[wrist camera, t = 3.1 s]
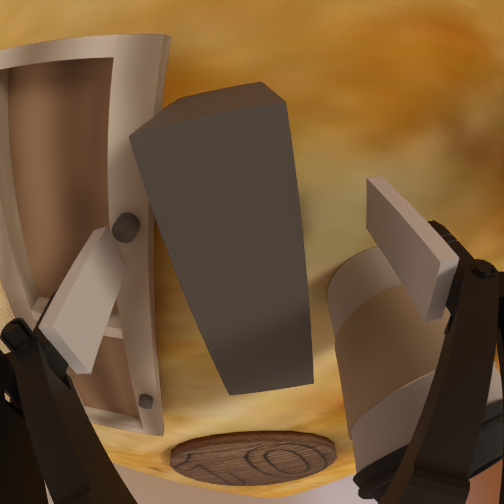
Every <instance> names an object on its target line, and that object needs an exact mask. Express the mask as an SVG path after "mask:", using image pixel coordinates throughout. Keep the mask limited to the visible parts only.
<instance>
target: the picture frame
mask: <svg viewBox="0 0 504 504" xmlns="http://www.w3.org/2000/svg"><path fill="white" fill-rule="evenodd" d="M129 140H130V143H131V146H132V150H133V153H134V156H135V159H136V162H137V166H138V169H139V172H140V175H141V178H142V181H143V184H144V187H145V190H146V193H147V196H148V199H149V202H150V205H151V208H152V210H153V213H154V216H155V219H156V222H157V224H158V227H159V230H160V233H161V235H162V238H163V241H164V244H165V246H166V249H167V252H168V254H169V257H170V259H171V262H172V265H173V267H174V270H175V272H176V275H177V277H178V280H179V282H180V285H181V287H182V290H183V292H184V295H185V297H186V299H187V302H188V304H189V307H190V309H191V311H192V314H193V316H194V319H195V321H196V323H197V326H198V328H199V330H200V332H201V335H202V337H203V339H204V342H205V344H206V346H207V348H208V350H209V353H210V355H211V357H212V359H213V361H214V364H215V366H216V368H217V370H218V372H219V374H220V376H221V379H222V381H223V383H224V385H225V387H226V389H227V391H228V393H229V395H238V394H247V393H255V392H263V391H270V390H277V389H283V388H290V387H296V386H302V385H307V384H313V383H314V377H313V357H312V340H311V324H310V310H309V297H308V285H307V273H306V262H305V251H304V241H303V231H302V222H301V213H300V204H299V195H298V187H297V179H296V171H295V163H294V155H293V148H292V141H291V134H290V127H289V120H288V113H287V107H286V102H285V101H284V100H283V99H282V98H281V97H279V96H278V95H277V94H276V93H275V92H273V91H272V90H271V89H270V88H268V87H267V86H266V85H265V84H263V83H262V82H257V83H250V84H245V85H239V86H234V87H228V88H223V89H218V90H214V91H209V92H204V93H200V94H196V95H191V96H187V97H183V98H179V99H178V100H176V101H175V102H174V103H172V104H171V105H169V106H168V107H166V108H165V109H164V110H162V111H161V112H160V113H158V114H157V115H156V116H154V117H153V118H151V119H150V120H149V121H147V122H146V123H145V124H144V125H142V126H141V127H140V128H138V129H137V130H136V131H135V132H133V133H132V134H131V135H130V136H129Z"/></svg>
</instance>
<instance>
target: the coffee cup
mask: <svg viewBox="0 0 504 504" xmlns="http://www.w3.org/2000/svg"><path fill="white" fill-rule="evenodd" d="M327 302H328V306H329V311H330V316H331V321H332V326H333V331H334V336H335V352H336V358H337V363H338V369H339V375H340V381H341V387H342V393H343V399H344V406H345V412H346V419H347V426H348V433H349V437H350V439H351V440H352V441H353V448H354V456H355V463H356V471H357V474H356V475H355V476H354V478H353V481H354V482H355V484H356V485H357V486H358V487H359V488H360V489H359V490H358V495H359V496H360V497H361V498H362V499H375V500H376V501H377V502H378V503H379V501H380V500H381V498H382V496H383V495H384V494H385V492H386V491H387V489H388V487H389V486H390V484H391V482H392V480H393V478H394V476H395V474H396V472H397V470H398V468H399V465H400V463H401V461H402V459H403V457H404V455H405V452H406V450H407V448H408V445H409V443H410V441H411V438H412V436H413V433H414V431H415V429H416V426H417V423H418V421H419V418H420V416H421V413H422V410H423V407H424V405H425V402H426V399H427V396H428V393H429V390H430V387H431V384H432V380H433V377H434V374H435V371H436V367H437V364H438V360H439V357H440V353H441V349H442V345H443V341H444V337H445V334H444V331H445V328H446V326H447V323H448V320H449V317H450V315H451V314H450V312H449V310H448V309H447V307H445V310H444V313H443V316H442V318H441V319H438V320H434V321H431V322H428V323H424V321H423V319H422V317H421V316H420V314H419V312H418V310H417V309H416V307H415V305H414V303H413V302H412V300H411V298H410V296H409V295H408V293H407V291H406V290H405V288H404V286H403V285H402V283H401V281H400V280H399V278H398V276H397V275H396V273H395V272H394V270H393V268H392V267H391V265H390V264H389V262H388V260H387V259H386V257H385V256H384V254H383V253H382V251H381V249H380V248H379V247H374V248H370V249H367V250H365V251H363V252H360V253H358V254H357V255H355V256H353V257H352V258H350V259H349V260H348V261H347V262H345V263H344V264H343V265H342V266H341V267H340V268H339V269H338V270H337V272H336V273H335V274H334V276H333V278H332V279H331V281H330V283H329V286H328V290H327ZM503 443H504V422H503V398H502V384H501V376H500V374H499V372H498V371H497V369H496V362H495V360H494V364H493V371H492V378H491V384H490V389H489V395H488V400H487V405H486V410H485V414H484V419H483V423H482V427H481V431H480V435H479V438H478V442H477V446H476V449H475V452H474V456H473V459H472V462H471V465H470V468H469V472H468V480H469V479H470V478H472V477H474V476H476V475H478V474H479V473H481V472H483V471H485V470H486V469H488V468H489V467H491V466H493V465H494V464H496V463H497V462H499V461H500V460H502V459H503Z"/></svg>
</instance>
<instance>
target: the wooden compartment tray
mask: <svg viewBox="0 0 504 504" xmlns="http://www.w3.org/2000/svg"><path fill="white" fill-rule="evenodd" d="M170 42H171V37H170V36H167V35H162V34H121V35H100V36H87V37H77V38H68V39H60V40H52V41H46V42H40V43H34V44H28V45H23V46H18V47H14V48H9V49H5V50H1V51H0V279H1V282H2V285H3V288H4V291H5V293H6V296H7V299H8V301H9V304H10V306H11V309H12V311H13V314H14V316H15V318H23V319H24V321H25V322H26V323H27V325H28V326H29V327H30V329H31V330H32V331H33V330H34V328H35V326H36V324H37V322H38V320H39V318H40V316H41V314H42V312H44V311H43V310H44V309H45V307H46V305H47V303H48V301H49V299H50V297H51V296H52V294H53V293H54V292H55V291H56V290H57V289H58V288H59V287H60V285H61V284H62V282H63V280H64V278H65V277H66V275H67V273H68V271H69V270H70V268H71V266H72V265H73V263H74V261H75V260H76V258H77V256H78V255H79V253H80V252H81V250H82V248H83V247H84V245H85V244H86V242H87V240H88V239H89V237H90V236H91V234H92V233H93V231H94V230H96V229H100V228H104V227H107V228H108V231H109V233H110V235H111V237H112V240H113V242H114V244H115V246H116V249H117V251H118V253H119V255H120V257H121V259H122V262H123V264H124V266H125V268H126V270H127V271H126V274H125V276H124V279H123V282H122V284H121V287H120V289H119V292H118V295H117V297H116V300H115V303H114V305H113V308H112V311H111V314H110V317H109V319H108V322H107V325H106V328H105V331H104V334H103V337H102V340H101V343H100V346H99V349H98V352H97V355H96V359H95V362H94V365H93V368H92V372H91V374H76V373H75V372H74V370H73V369H72V368H71V367H70V366H69V365H68V368H67V371H66V372H67V373H68V374H69V376H70V377H71V379H72V382H73V384H74V387H75V389H76V391H77V394H78V396H79V398H80V401H81V403H82V405H83V407H84V409H85V412H86V414H87V416H88V418H89V420H90V422H91V423H94V424H98V425H103V426H107V427H112V428H117V429H122V430H127V431H132V432H138V433H144V434H150V435H157V436H163V434H164V417H163V408H162V399H161V389H160V379H159V367H158V354H157V339H156V320H155V293H154V213H153V210H152V208H151V205H150V202H149V199H148V196H147V193H146V190H145V187H144V184H143V181H142V178H141V175H140V172H139V169H138V166H137V162H136V159H135V156H134V153H133V150H132V146H131V143H130V140H129V136H130V135H131V134H132V133H133V132H135V131H136V130H137V129H138V128H140V127H141V126H142V125H144V124H145V123H146V122H147V121H149V120H150V119H151V118H153V117H154V116H156V115H157V114H158V113H160V112H161V109H162V100H163V91H164V83H165V76H166V68H167V61H168V55H169V48H170Z"/></svg>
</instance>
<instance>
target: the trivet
mask: <svg viewBox="0 0 504 504" xmlns="http://www.w3.org/2000/svg"><path fill="white" fill-rule="evenodd" d="M336 458H337V455H336V450H335V445H334V442H332V441H331V440H330V439H328V438H327V437H323V436H320V435H316V434H313V433H304V432H295V431H248V432H233V433H225V434H215V435H209V436H205V437H200V438H195V439H191V440H188V441H186V442H183V443H181V444H178V445H177V446H176V447H175V448H174V449H172V452H171V463H170V465H171V467H172V468H173V469H174V470H175V471H176V472H178V473H180V474H182V475H183V476H186V477H189V478H192V479H195V480H198V481H202V482H207V483H212V484H220V485H231V486H257V485H269V484H277V483H283V482H288V481H293V480H297V479H301V478H304V477H307V476H310V475H313V474H315V473H317V472H320V471H322V470H324V469H325V468H327V467H328V466H330V465H331V464H333V462H334V461H335V460H336Z"/></svg>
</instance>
